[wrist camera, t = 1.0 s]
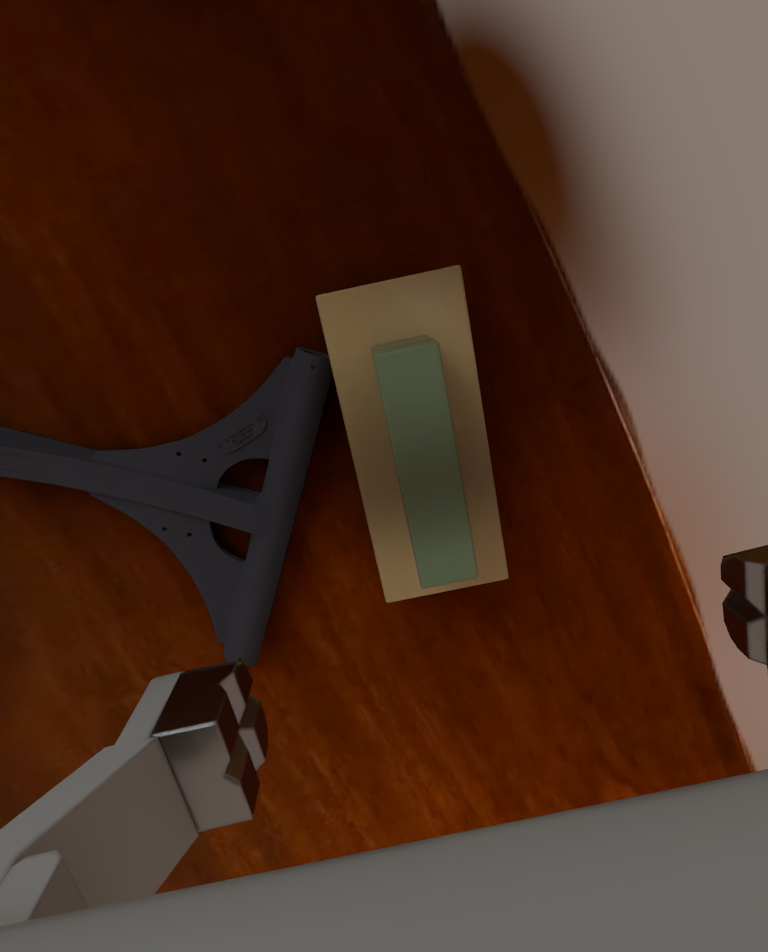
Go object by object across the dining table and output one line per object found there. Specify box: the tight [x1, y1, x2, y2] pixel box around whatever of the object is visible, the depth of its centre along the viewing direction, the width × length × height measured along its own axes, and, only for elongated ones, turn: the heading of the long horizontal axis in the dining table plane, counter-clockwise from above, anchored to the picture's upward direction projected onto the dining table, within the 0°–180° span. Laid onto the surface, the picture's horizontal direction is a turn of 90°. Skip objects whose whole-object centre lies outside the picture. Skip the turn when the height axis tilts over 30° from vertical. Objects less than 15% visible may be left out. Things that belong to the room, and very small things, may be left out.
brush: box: [316, 265, 509, 603], centre depth 21 cm, size 12×5×7 cm, turn 12°
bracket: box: [0, 347, 333, 667], centre depth 23 cm, size 14×15×3 cm
